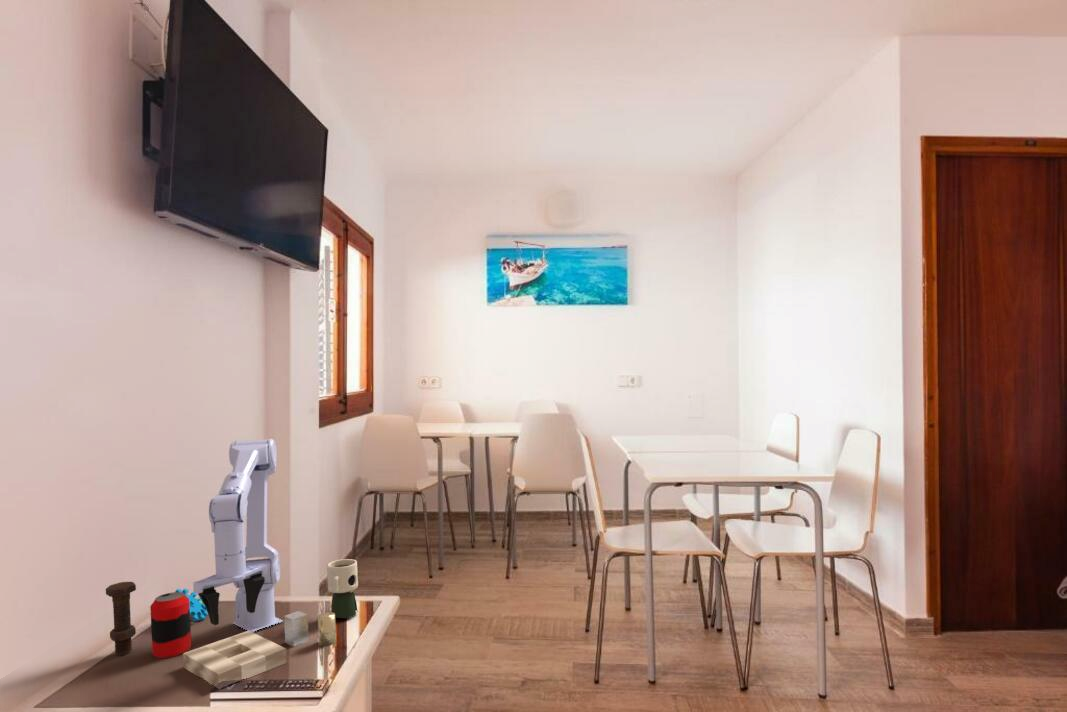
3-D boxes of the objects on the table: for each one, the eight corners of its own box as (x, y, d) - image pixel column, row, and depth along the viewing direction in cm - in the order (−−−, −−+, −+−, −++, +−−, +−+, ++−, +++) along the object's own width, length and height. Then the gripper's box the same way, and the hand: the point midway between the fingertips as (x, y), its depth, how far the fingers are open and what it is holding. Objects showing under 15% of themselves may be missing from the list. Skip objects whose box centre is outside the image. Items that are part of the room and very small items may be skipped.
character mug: (351, 624, 160) (349, 569, 160) (322, 625, 161) (319, 570, 161) (365, 607, 171) (363, 556, 171) (337, 608, 172) (335, 556, 172)
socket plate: (183, 667, 141) (183, 653, 141) (249, 643, 152) (248, 630, 152) (219, 689, 131) (218, 674, 131) (286, 662, 142) (285, 648, 142)
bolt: (123, 659, 147) (120, 590, 147) (103, 658, 148) (100, 589, 148) (143, 648, 152) (140, 581, 152) (124, 647, 153) (121, 580, 153)
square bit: (285, 642, 152) (284, 615, 152) (299, 637, 155) (298, 610, 155) (293, 646, 150) (292, 619, 149) (308, 641, 152) (307, 614, 152)
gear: (194, 621, 163) (167, 591, 164) (176, 639, 162) (150, 609, 164) (219, 610, 173) (194, 582, 175) (203, 627, 173) (178, 599, 175)
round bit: (316, 643, 151) (314, 616, 151) (330, 637, 154) (329, 610, 154) (325, 647, 149) (323, 619, 149) (339, 641, 151) (338, 614, 151)
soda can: (180, 641, 155) (178, 588, 155) (198, 648, 151) (195, 594, 151) (146, 653, 149) (143, 599, 149) (163, 661, 145) (160, 605, 145)
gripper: (203, 564, 133) (206, 633, 133) (272, 546, 144) (275, 610, 144) (187, 558, 138) (190, 625, 138) (256, 541, 149) (259, 603, 149)
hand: (233, 617), depth 141 cm, fingers open, 7 cm apart
